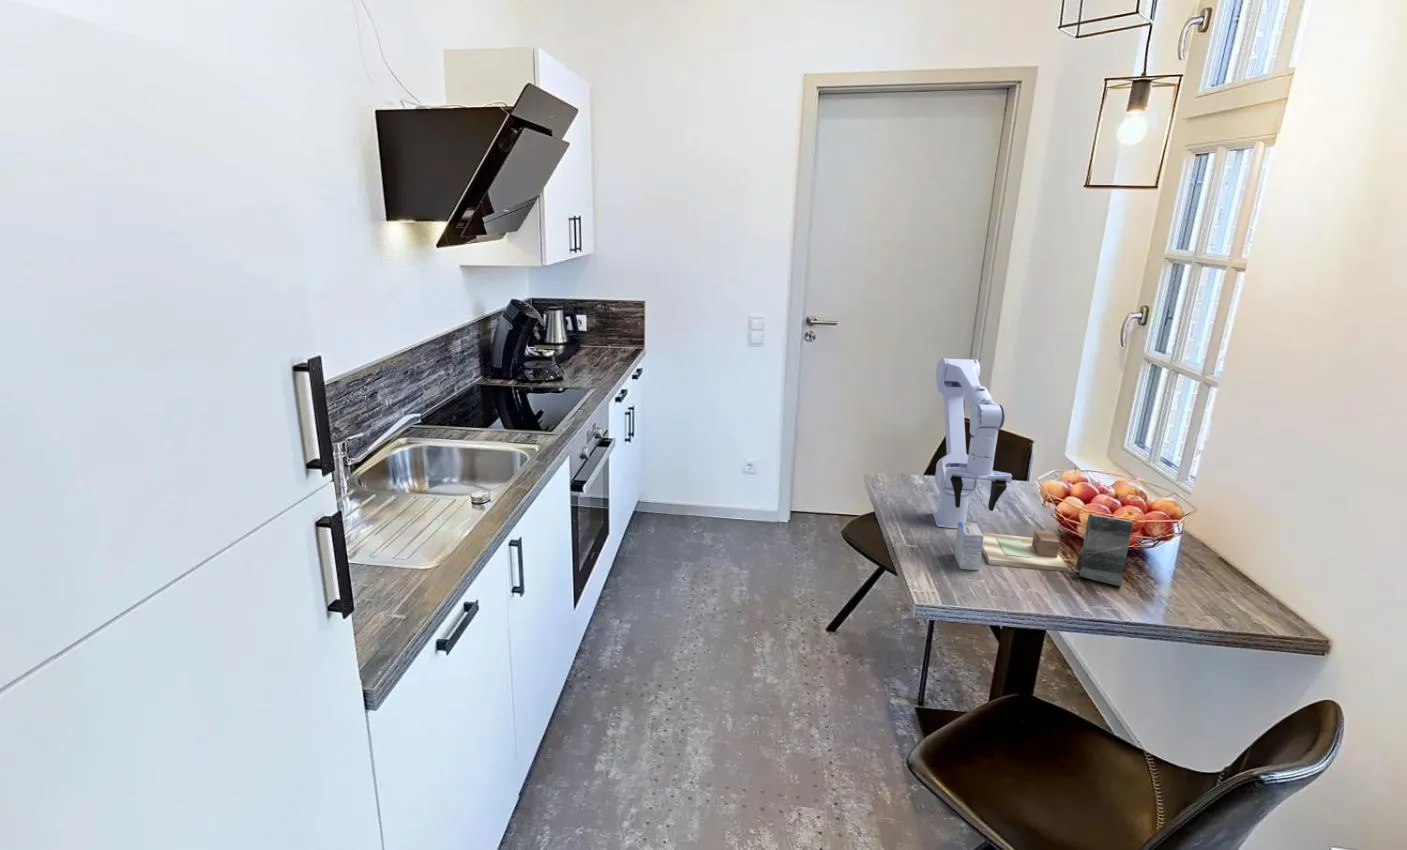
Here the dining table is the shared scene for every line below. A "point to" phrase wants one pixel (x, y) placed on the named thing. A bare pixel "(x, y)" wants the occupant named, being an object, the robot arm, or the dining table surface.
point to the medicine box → (968, 546)
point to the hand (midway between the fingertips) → (973, 507)
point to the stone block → (1104, 549)
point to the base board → (1017, 553)
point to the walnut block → (1045, 543)
